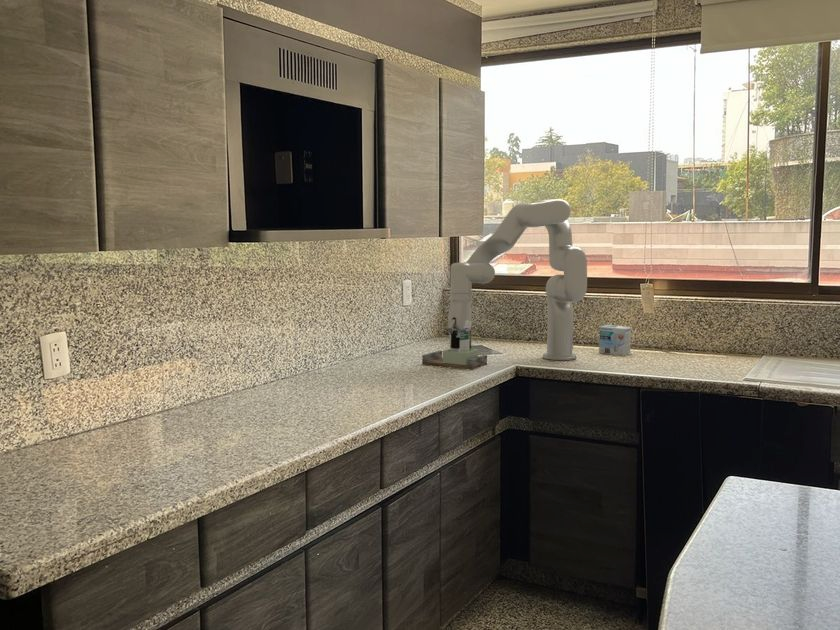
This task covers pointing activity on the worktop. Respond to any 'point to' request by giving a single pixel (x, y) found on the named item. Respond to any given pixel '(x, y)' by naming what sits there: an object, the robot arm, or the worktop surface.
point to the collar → (459, 356)
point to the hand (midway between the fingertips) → (460, 346)
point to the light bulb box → (615, 339)
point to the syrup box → (464, 338)
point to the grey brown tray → (437, 360)
